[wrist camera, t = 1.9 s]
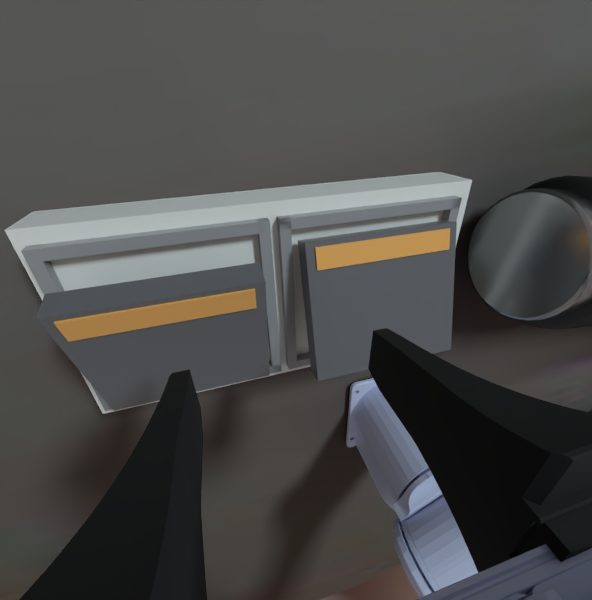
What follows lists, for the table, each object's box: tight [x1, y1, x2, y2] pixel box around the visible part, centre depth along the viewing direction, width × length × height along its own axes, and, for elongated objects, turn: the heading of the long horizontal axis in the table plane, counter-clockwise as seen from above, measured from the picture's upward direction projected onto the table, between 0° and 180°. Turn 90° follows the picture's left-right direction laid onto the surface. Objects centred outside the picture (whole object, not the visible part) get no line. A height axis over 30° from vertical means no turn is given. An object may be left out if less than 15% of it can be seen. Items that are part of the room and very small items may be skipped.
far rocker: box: [298, 221, 457, 381], centre depth 19 cm, size 8×9×2 cm
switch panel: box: [5, 172, 472, 414], centre depth 20 cm, size 12×24×4 cm, turn 92°
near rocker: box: [36, 262, 269, 411], centre depth 16 cm, size 8×9×2 cm
